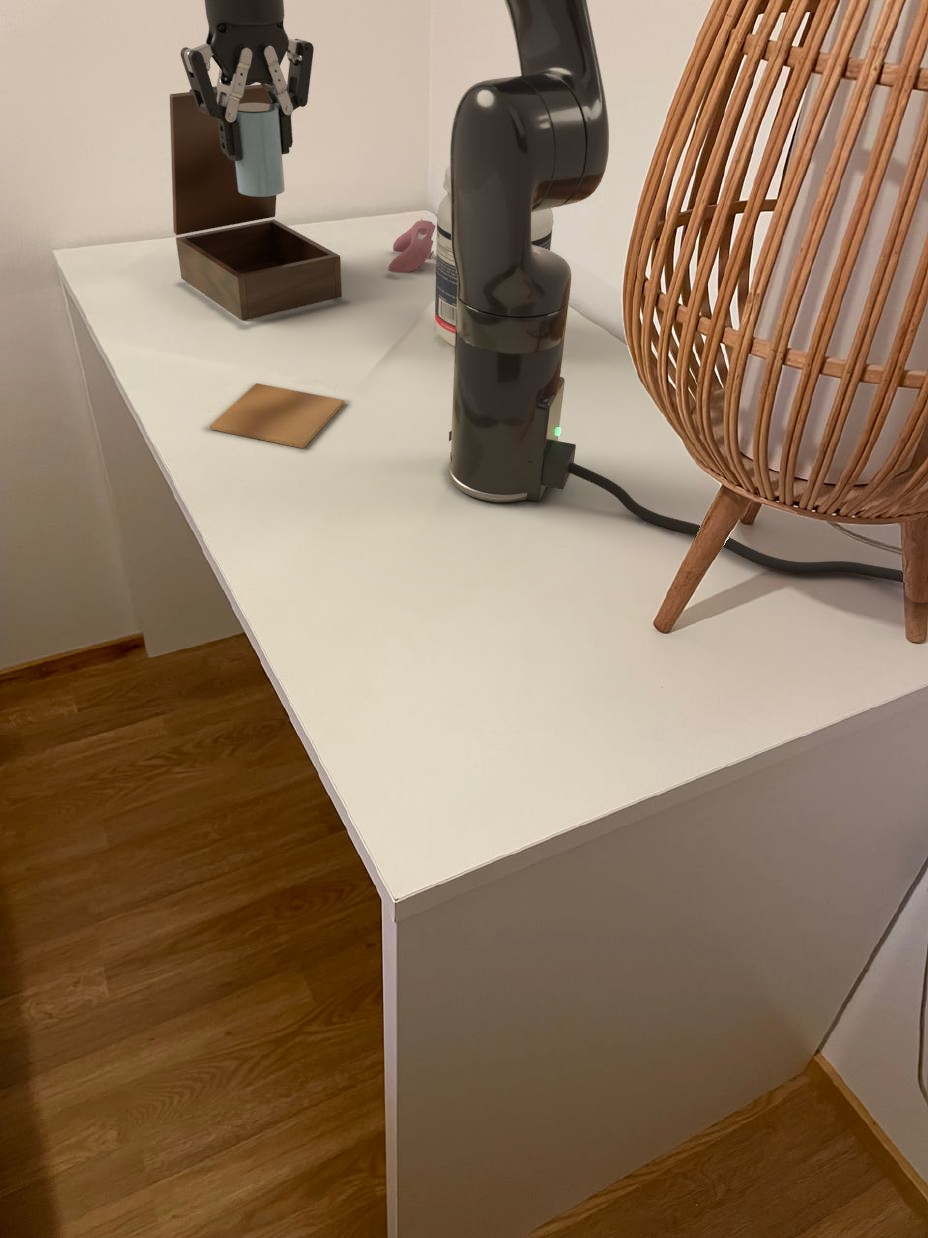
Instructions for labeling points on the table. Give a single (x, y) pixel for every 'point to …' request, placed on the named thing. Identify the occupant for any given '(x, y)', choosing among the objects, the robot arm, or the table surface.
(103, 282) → the table surface
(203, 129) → the lid
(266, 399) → the mat
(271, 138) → the cup
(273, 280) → the open wooden box
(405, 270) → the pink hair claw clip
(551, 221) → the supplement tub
